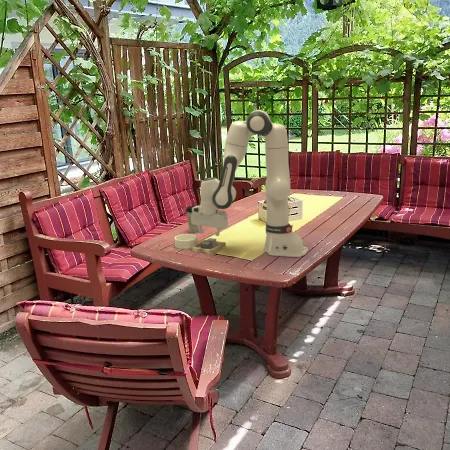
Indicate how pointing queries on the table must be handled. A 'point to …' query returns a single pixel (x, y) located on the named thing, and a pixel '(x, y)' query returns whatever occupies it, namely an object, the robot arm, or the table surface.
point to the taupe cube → (212, 242)
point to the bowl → (185, 241)
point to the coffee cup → (191, 227)
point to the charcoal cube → (206, 245)
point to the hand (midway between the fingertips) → (209, 234)
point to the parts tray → (213, 250)
